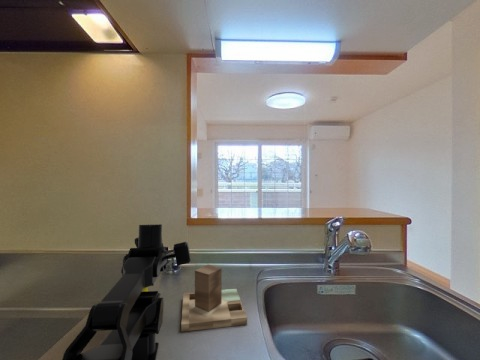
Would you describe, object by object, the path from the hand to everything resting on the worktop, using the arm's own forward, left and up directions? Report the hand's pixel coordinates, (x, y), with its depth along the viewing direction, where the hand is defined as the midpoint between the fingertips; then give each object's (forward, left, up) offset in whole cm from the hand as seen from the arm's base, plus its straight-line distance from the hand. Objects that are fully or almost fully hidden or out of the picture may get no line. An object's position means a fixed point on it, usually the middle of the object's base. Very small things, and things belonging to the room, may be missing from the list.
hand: (163, 255), depth 83 cm
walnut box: (-9, -14, -13) cm, 21 cm away
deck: (-8, -15, -15) cm, 23 cm away
